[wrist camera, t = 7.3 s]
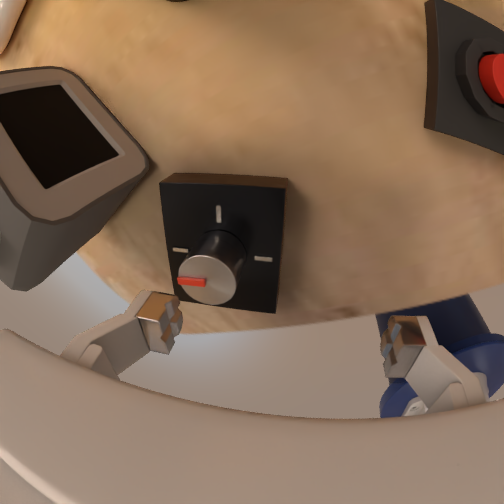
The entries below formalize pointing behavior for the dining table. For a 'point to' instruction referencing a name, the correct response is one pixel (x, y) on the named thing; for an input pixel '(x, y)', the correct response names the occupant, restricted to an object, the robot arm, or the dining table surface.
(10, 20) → the earbud case
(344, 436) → the robot arm
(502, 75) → the button
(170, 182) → the dial panel
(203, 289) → the dial
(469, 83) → the switch block
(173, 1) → the wine bottle
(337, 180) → the dining table surface
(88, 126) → the alarm clock
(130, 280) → the dining table surface
